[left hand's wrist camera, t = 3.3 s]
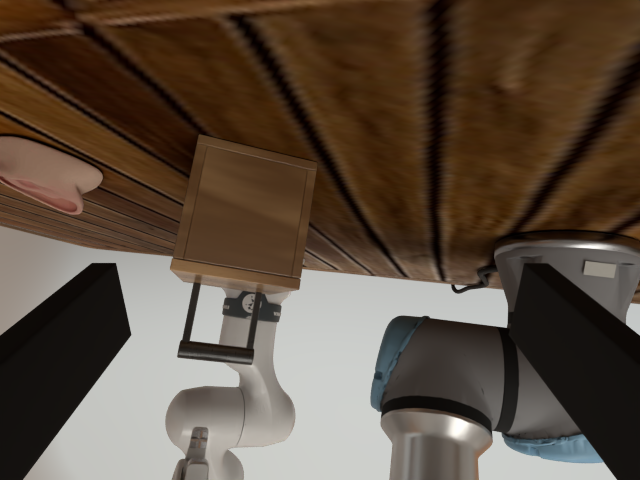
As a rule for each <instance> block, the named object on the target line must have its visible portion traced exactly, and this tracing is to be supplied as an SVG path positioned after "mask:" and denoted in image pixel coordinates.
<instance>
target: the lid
mask: <svg viewBox="0 0 640 480" xmlns="http://www.w3.org/2000/svg"><path fill="white" fill-rule="evenodd" d="M170 270H171V271H172V272H173V273H174V274H176V275H177V276H178V277H179V278H180V279H181V280H182V281H183V282H188V283H194V284H193V289H192V294H191V299H190V304H189V309H188V314H187V319H186V324H185V329H184V334H183V339H182V340H181V341H180V345H179V350H178V355H177V357H178V358H186V359H196V360H205V361H215V362H224V363H234V364H243V365H252V363H253V359H254V349H253V346H254V340H255V334H256V328H257V322H258V316H259V310H260V304H261V298H262V294H268V295H272V294H277V293H283V292H289V291H294V290H299V287H300V279H297V278H291V277H284V276H278V275H272V274H266V273H260V272H254V271H248V270H242V269H236V268H229V267H223V266H217V265H211V264H205V263H199V262H193V261H187V260H181V259H174V258H173V259H172V262H171V266H170ZM201 284H202V285H208V286H215V287H221V288H228V289H235V290H241V291H248V292H255V297H254V303H253V309H252V315H251V321H250V327H249V333H248V339H247V345H246V348H245V347H237V346H228V345H220V344H211V343H202V342H194V341H190V336H191V331H192V326H193V321H194V316H195V311H196V306H197V301H198V296H199V290H200V286H201Z"/></svg>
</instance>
